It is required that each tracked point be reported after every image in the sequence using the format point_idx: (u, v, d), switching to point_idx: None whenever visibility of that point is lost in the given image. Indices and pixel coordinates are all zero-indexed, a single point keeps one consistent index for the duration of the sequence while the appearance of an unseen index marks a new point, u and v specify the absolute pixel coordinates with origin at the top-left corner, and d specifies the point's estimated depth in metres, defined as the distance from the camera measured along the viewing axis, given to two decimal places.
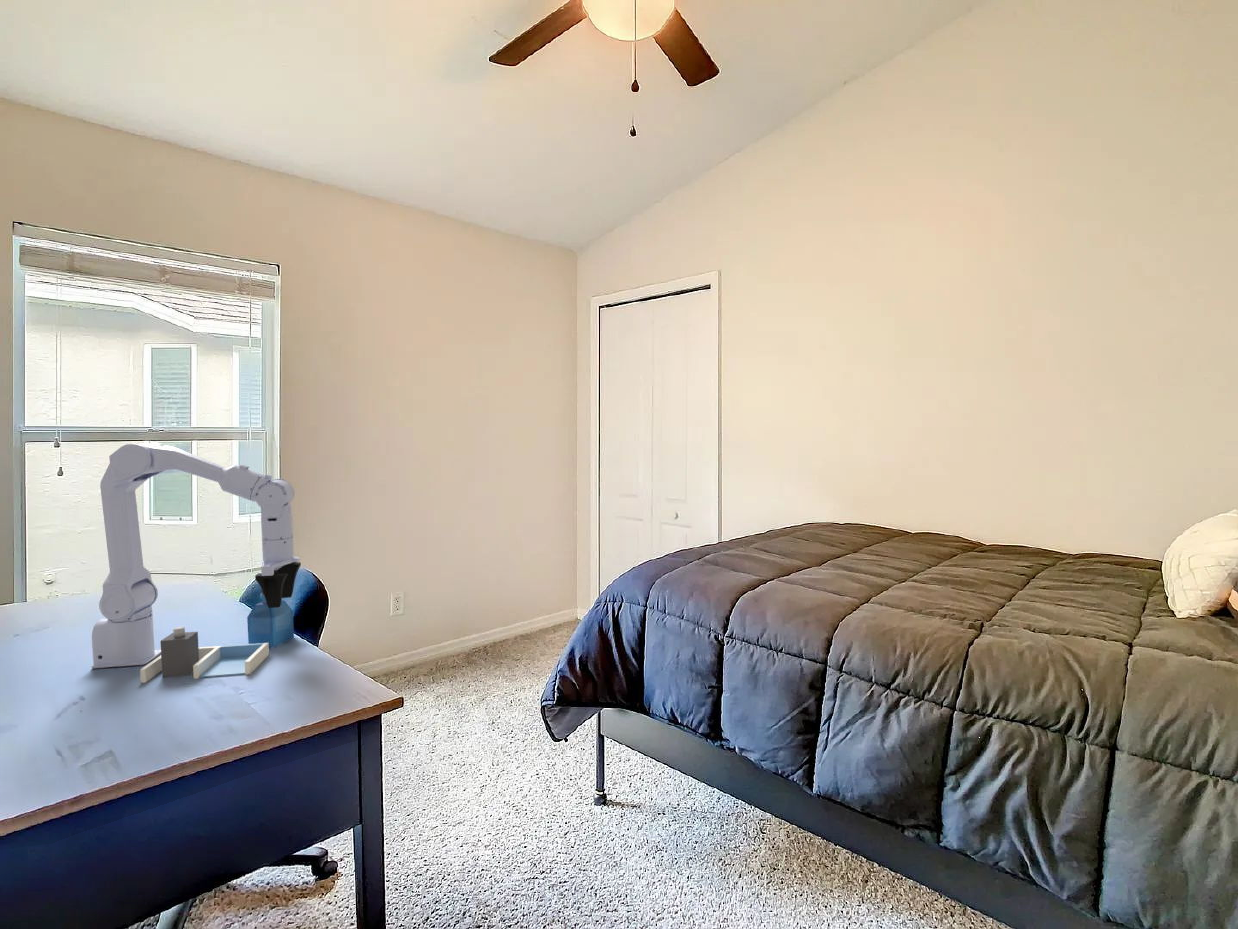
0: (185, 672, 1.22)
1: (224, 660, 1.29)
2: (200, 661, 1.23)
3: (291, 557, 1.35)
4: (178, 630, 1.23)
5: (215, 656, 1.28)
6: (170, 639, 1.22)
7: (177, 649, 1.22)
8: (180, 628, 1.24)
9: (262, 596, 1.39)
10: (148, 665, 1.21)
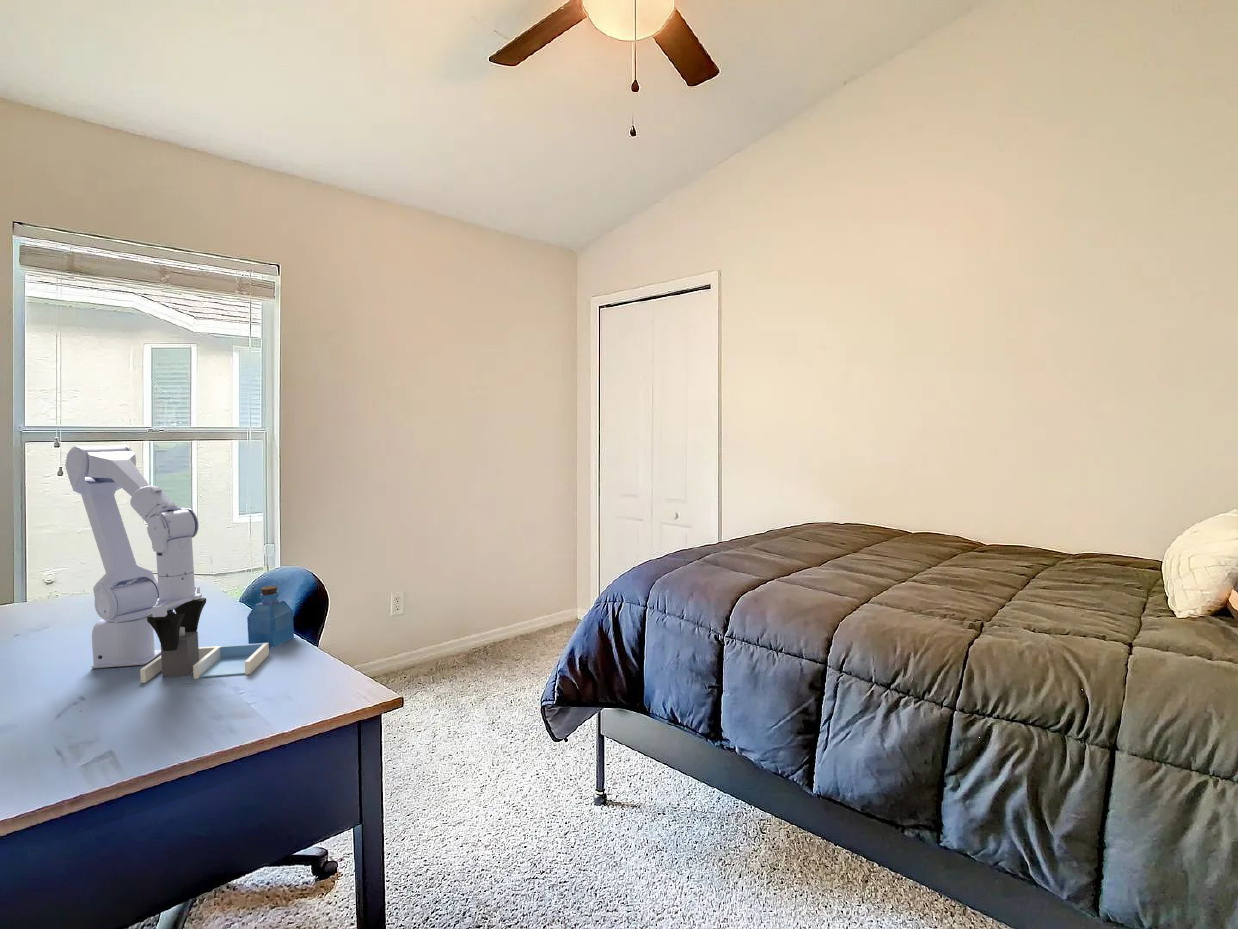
0: (185, 672, 1.22)
1: (224, 660, 1.29)
2: (200, 661, 1.23)
3: (191, 594, 1.23)
4: None
5: (215, 656, 1.28)
6: None
7: (177, 649, 1.22)
8: (180, 628, 1.24)
9: (262, 596, 1.39)
10: (148, 665, 1.21)
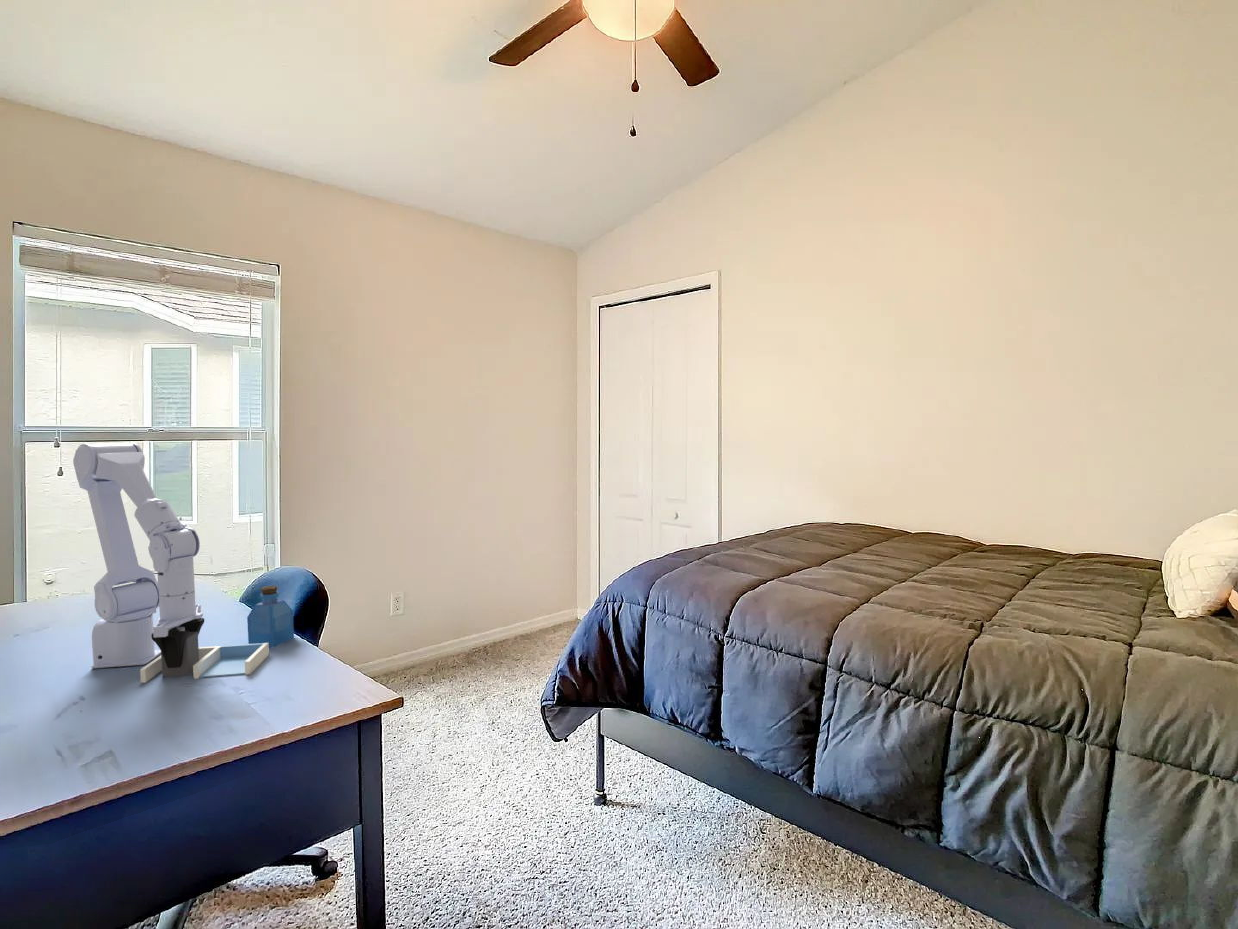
0: (185, 672, 1.22)
1: (224, 660, 1.29)
2: (200, 661, 1.23)
3: (192, 614, 1.23)
4: None
5: (215, 656, 1.28)
6: None
7: None
8: (180, 628, 1.24)
9: (262, 596, 1.39)
10: (148, 665, 1.21)
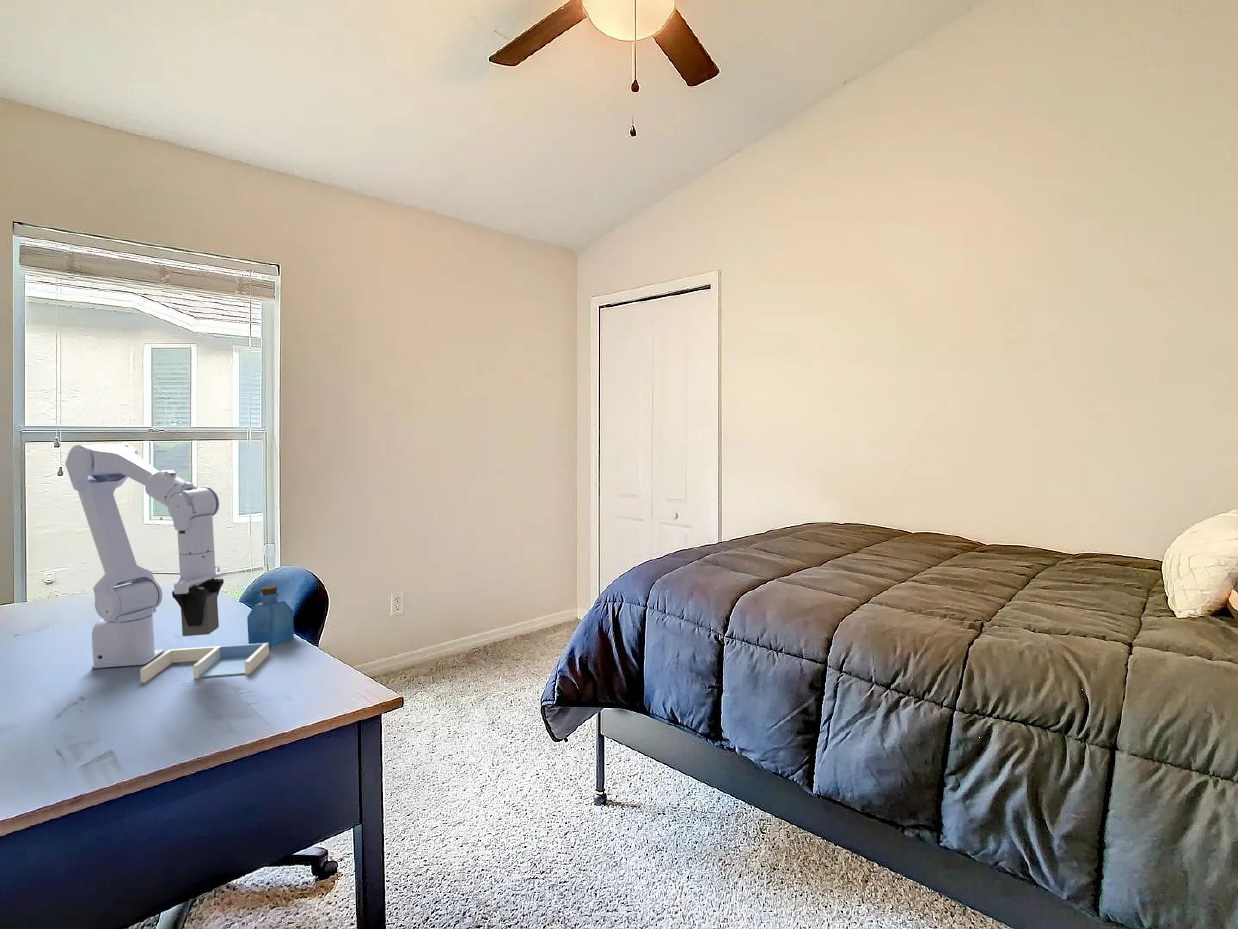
0: (205, 631, 1.23)
1: (224, 660, 1.29)
2: (200, 661, 1.23)
3: (212, 572, 1.24)
4: None
5: (215, 656, 1.28)
6: None
7: None
8: (199, 588, 1.24)
9: (262, 596, 1.39)
10: (148, 665, 1.21)
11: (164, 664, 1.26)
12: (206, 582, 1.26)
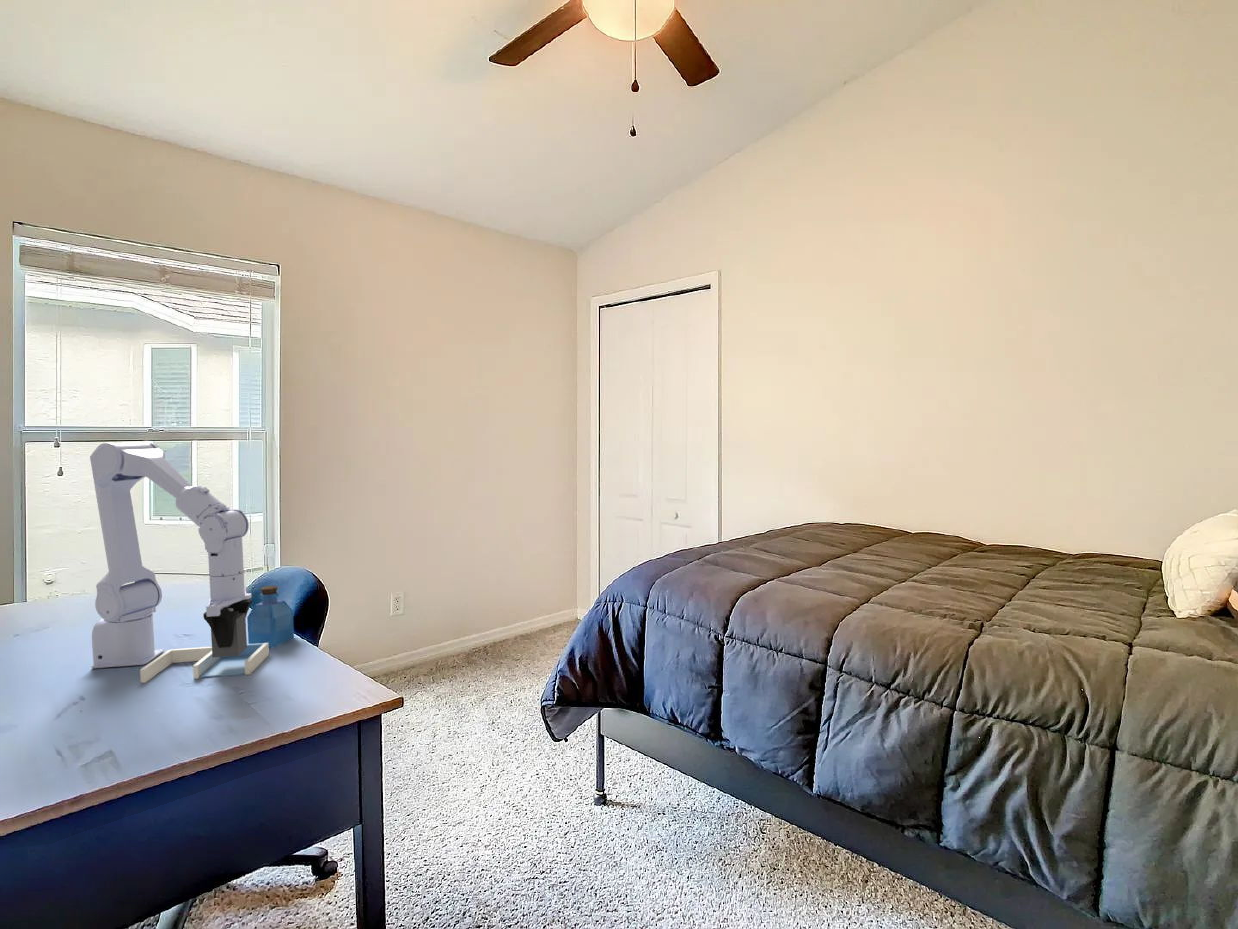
0: (234, 652, 1.24)
1: (224, 660, 1.29)
2: (200, 661, 1.23)
3: (241, 594, 1.25)
4: None
5: None
6: None
7: None
8: (229, 609, 1.25)
9: (262, 596, 1.39)
10: (148, 665, 1.21)
11: (164, 664, 1.26)
12: (235, 603, 1.28)
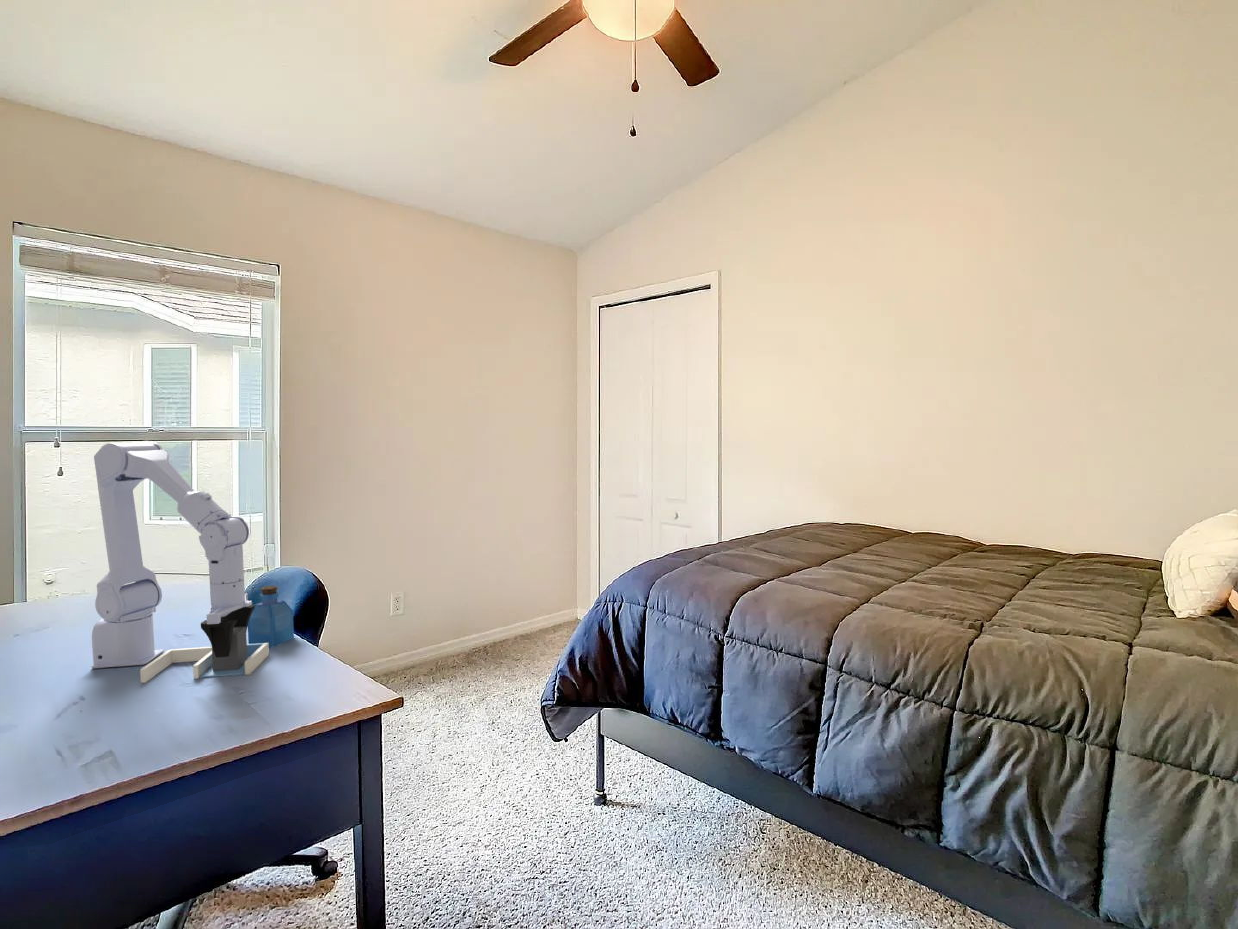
0: (235, 666, 1.24)
1: None
2: (200, 661, 1.23)
3: (242, 601, 1.25)
4: None
5: None
6: None
7: None
8: None
9: (262, 596, 1.39)
10: (148, 665, 1.21)
11: (164, 664, 1.26)
12: (238, 608, 1.29)
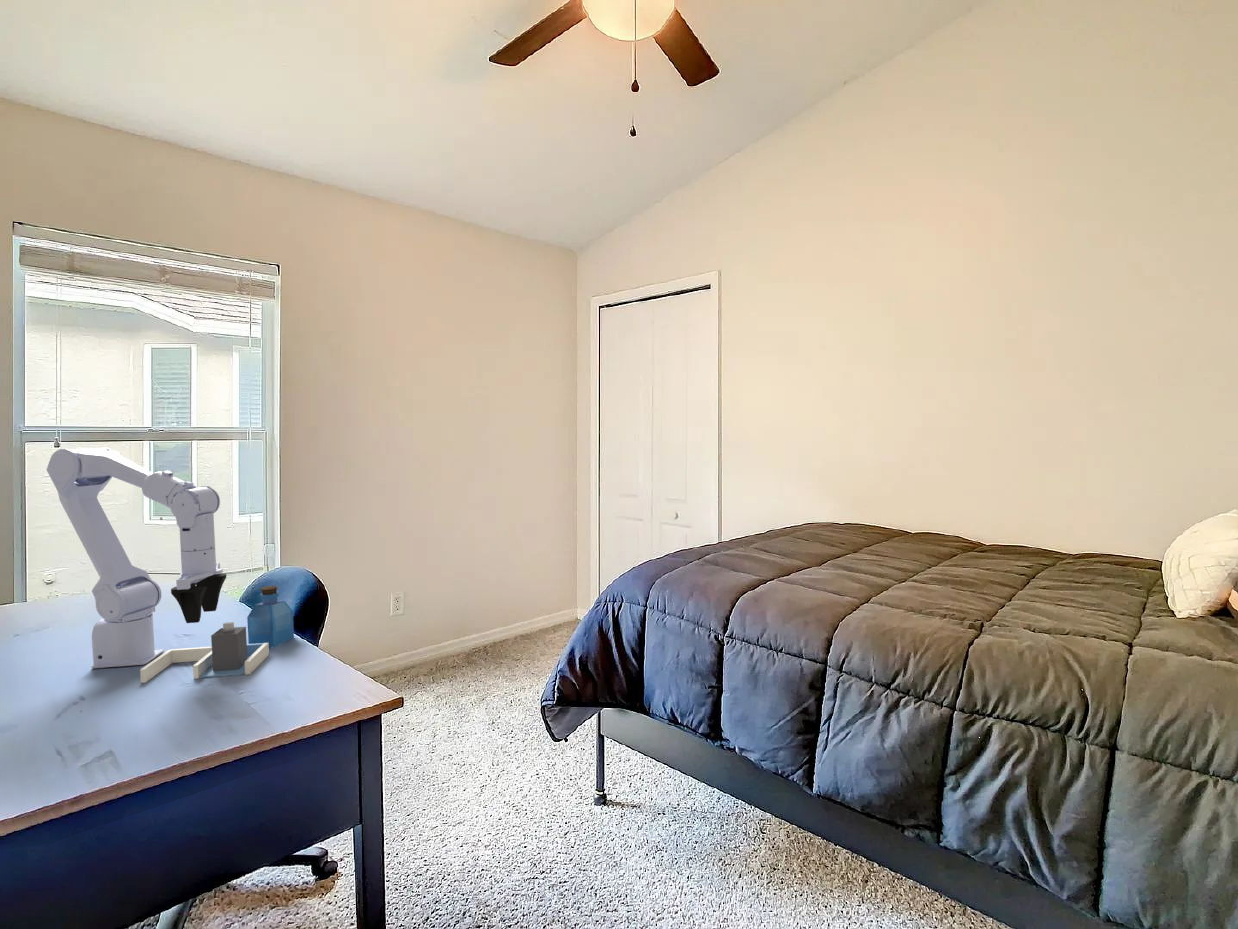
0: (235, 666, 1.24)
1: None
2: (200, 661, 1.23)
3: (212, 569, 1.27)
4: (228, 625, 1.25)
5: None
6: (220, 634, 1.24)
7: (228, 644, 1.24)
8: (229, 623, 1.25)
9: (262, 596, 1.39)
10: (148, 665, 1.21)
11: (164, 664, 1.26)
12: (209, 577, 1.31)
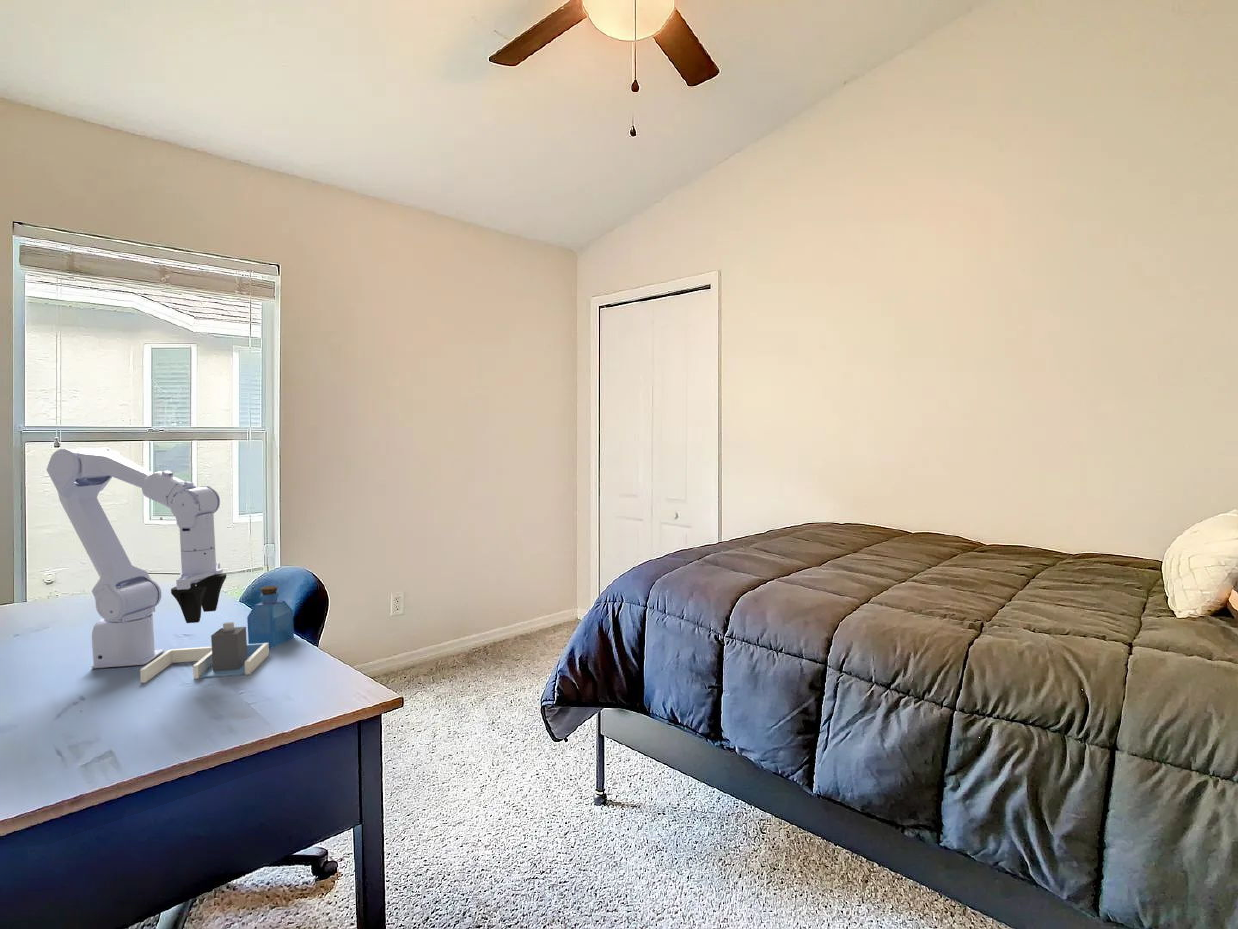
0: (235, 666, 1.24)
1: None
2: (200, 661, 1.23)
3: (212, 569, 1.27)
4: (228, 625, 1.25)
5: None
6: (220, 634, 1.24)
7: (228, 644, 1.24)
8: (229, 623, 1.25)
9: (262, 596, 1.39)
10: (148, 665, 1.21)
11: (164, 664, 1.26)
12: (209, 577, 1.31)
